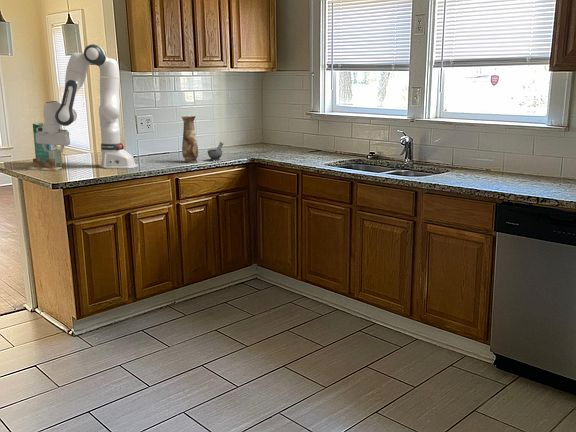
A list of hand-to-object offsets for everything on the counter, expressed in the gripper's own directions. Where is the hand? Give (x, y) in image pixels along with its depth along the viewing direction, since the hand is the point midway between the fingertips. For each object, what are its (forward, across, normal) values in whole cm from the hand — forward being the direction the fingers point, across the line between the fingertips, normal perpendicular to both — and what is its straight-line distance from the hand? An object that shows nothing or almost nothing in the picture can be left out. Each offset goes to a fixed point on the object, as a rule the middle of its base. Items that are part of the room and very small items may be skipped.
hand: (53, 152), depth 341 cm
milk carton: (+9, +11, -11) cm, 18 cm away
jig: (+9, +1, +9) cm, 13 cm away
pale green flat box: (+9, -1, 0) cm, 9 cm away
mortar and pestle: (+6, -86, -52) cm, 101 cm away
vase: (+7, -72, -40) cm, 82 cm away
